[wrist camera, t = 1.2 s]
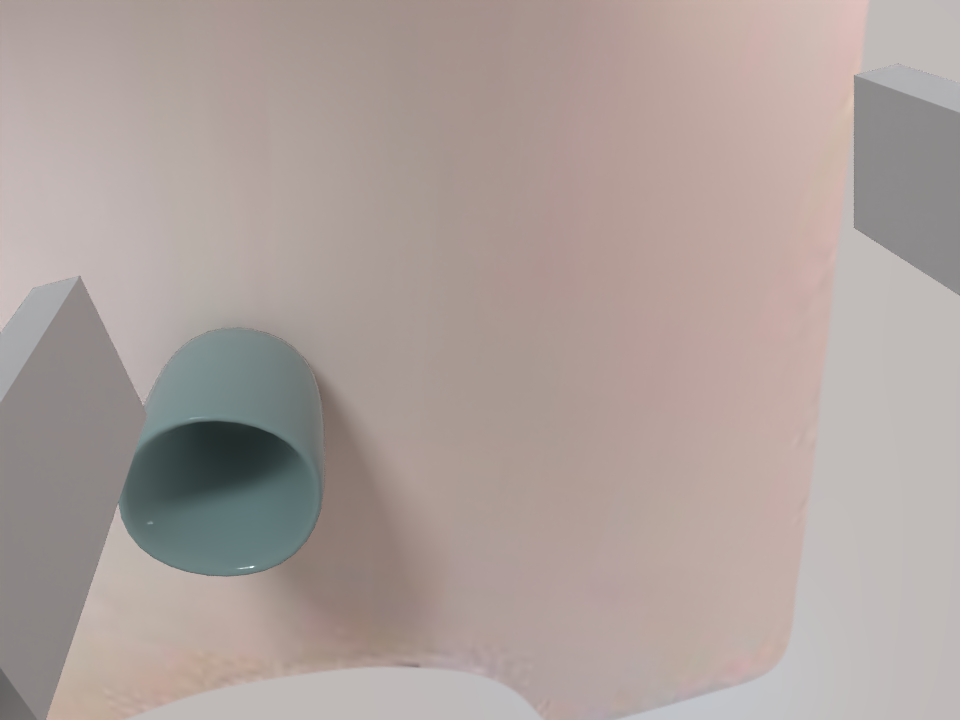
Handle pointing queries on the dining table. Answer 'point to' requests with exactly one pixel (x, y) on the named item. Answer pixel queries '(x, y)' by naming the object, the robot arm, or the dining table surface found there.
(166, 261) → the dining table surface
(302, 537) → the cup
